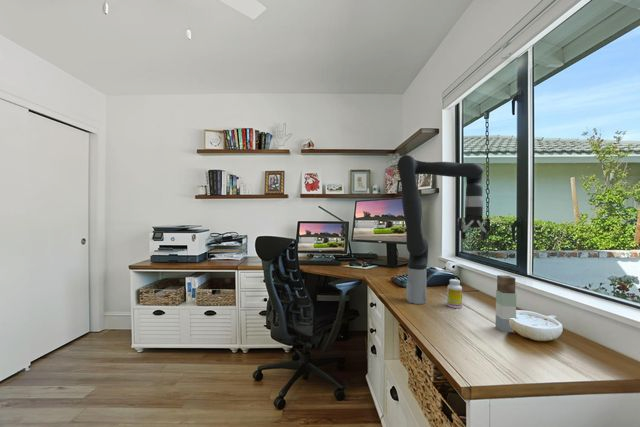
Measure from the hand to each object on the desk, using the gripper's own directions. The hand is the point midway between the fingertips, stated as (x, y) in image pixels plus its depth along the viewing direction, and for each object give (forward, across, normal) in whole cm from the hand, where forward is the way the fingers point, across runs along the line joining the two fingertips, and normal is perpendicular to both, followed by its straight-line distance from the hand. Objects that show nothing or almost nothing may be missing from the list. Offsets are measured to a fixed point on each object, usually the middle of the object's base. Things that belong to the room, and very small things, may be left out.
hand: (473, 239), depth 139 cm
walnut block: (+18, -3, +24) cm, 30 cm away
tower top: (+23, -3, +24) cm, 34 cm away
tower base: (+33, -3, +24) cm, 41 cm away
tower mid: (+28, -3, +24) cm, 37 cm away
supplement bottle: (+33, +7, -3) cm, 34 cm away
